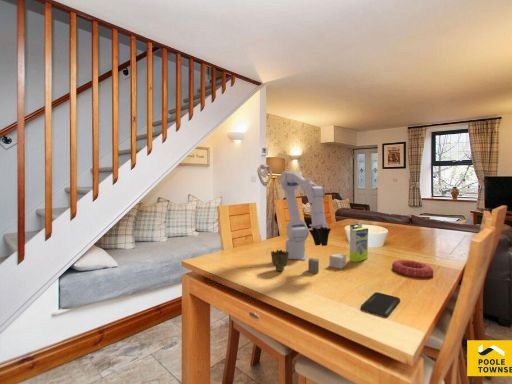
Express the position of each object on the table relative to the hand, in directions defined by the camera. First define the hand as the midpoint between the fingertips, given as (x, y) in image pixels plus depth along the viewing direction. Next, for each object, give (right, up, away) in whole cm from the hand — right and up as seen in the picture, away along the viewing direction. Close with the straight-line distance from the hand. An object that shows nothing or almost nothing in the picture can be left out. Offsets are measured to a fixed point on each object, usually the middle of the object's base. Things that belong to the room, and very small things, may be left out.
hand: (321, 245), depth 118 cm
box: (+22, -10, +17) cm, 30 cm away
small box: (+9, -11, +7) cm, 16 cm away
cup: (-18, -11, +1) cm, 21 cm away
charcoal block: (-3, -11, 0) cm, 11 cm away
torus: (+38, -11, -1) cm, 40 cm away
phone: (+11, -13, -32) cm, 36 cm away
